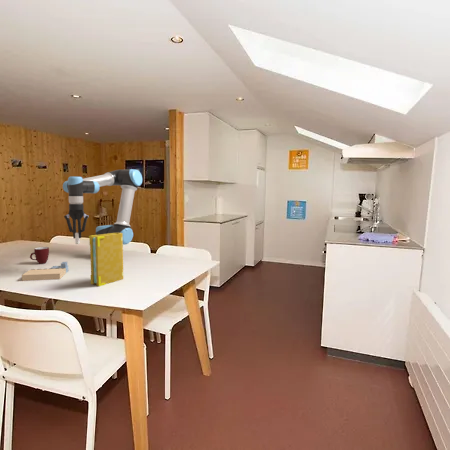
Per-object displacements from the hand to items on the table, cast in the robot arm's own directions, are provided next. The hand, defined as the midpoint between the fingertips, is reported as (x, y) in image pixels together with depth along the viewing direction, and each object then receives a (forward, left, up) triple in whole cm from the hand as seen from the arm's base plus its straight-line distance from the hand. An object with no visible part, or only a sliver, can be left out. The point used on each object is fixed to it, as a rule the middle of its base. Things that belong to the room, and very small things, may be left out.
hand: (77, 243), depth 179 cm
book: (-20, +24, -17) cm, 36 cm away
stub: (+10, 0, -16) cm, 19 cm away
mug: (+28, -25, -17) cm, 41 cm away
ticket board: (+15, +9, -16) cm, 24 cm away
